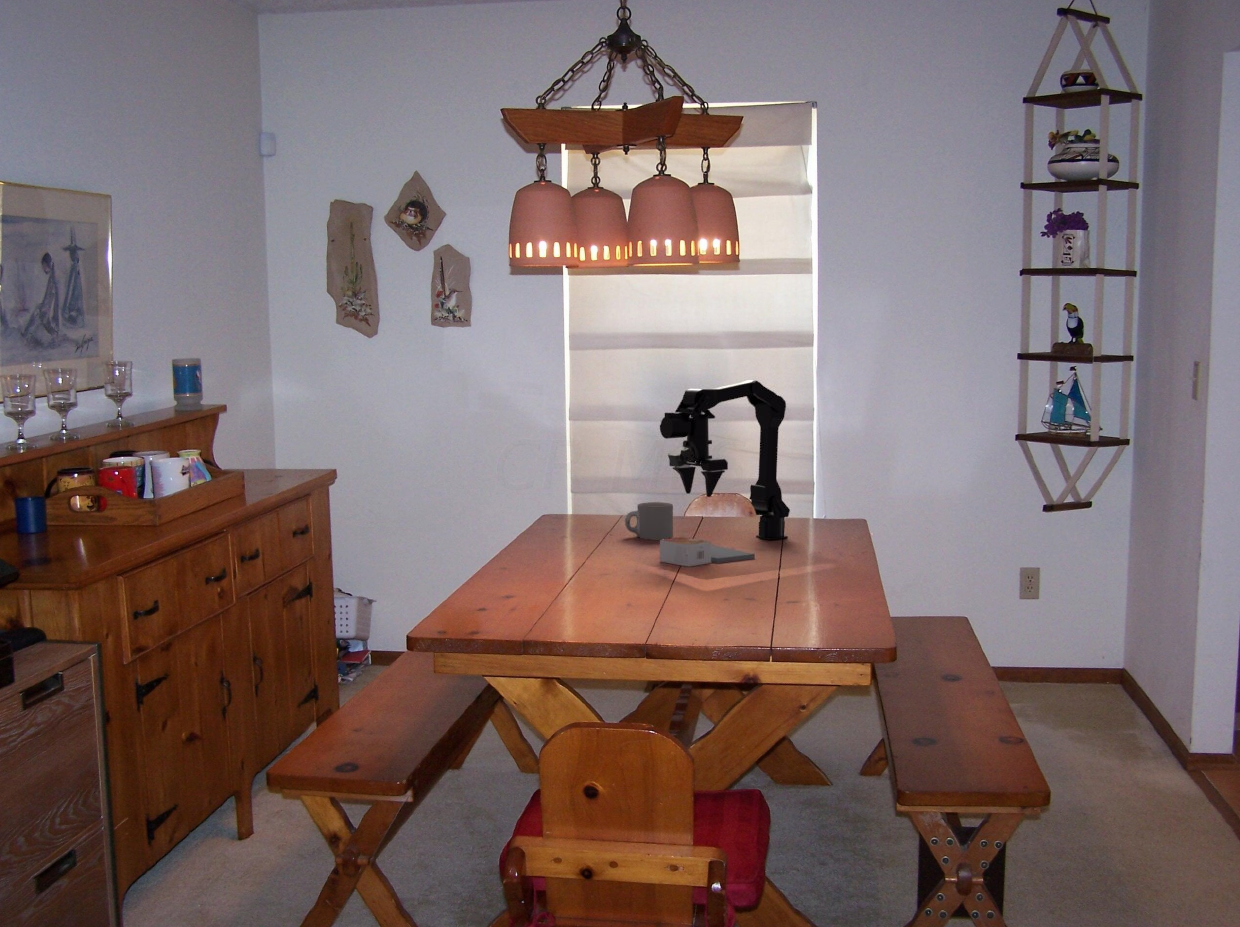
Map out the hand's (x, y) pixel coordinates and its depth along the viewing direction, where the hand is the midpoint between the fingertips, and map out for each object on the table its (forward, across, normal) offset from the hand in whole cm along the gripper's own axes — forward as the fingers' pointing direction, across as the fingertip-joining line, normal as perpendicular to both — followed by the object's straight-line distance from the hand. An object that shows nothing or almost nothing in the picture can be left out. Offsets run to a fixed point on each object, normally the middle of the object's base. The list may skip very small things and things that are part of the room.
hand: (698, 495), depth 308 cm
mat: (+14, +11, -3) cm, 18 cm away
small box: (+12, +20, -14) cm, 27 cm away
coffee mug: (+15, -21, -2) cm, 26 cm away
